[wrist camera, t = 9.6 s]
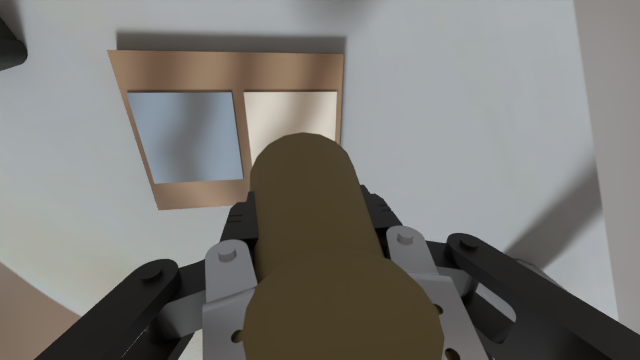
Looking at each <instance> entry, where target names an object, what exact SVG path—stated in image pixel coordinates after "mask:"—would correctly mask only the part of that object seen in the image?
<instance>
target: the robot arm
mask: <svg viewBox="0 0 640 360" xmlns="http://www.w3.org/2000/svg"><path fill="white" fill-rule="evenodd" d="M360 188H361V191H362V194H363V197H364V200H365V203H366V206H367V209H368V212H369V215H370V218H371V221H372V224H373V227H374V229H375V231H376V233H377V235H378V238H379V241H380V244H381V247H382V249H383V252H384V255H385V258H387V259H390V260H392V261H393V262H394V263H396V264H397V265H398V266H399V267H401V268H402V269H403V270H404V271H405V272H406V273H407V274H408V275H409V276H410V277H411V278H413V279H414V280H415V281H416V282H417V283H418V284H419V285H420V286H421V287H422V288H423V290H424V291H425V293H426V294H427V296H428V297H429V299H430V300H431V302H432V303H433V304H434V305H435V306H436V307H437V308H438V309H439V311H440V312H441V315H439V319H440V323H441V326H442V330H443V334H444V337H445V340H444V346H443V353H442V360H448V359H447V358H446V356H445V351H447V352H448V353H449V354H450V356H451V357H452V360H489V359H488V357H487V355H486V352H485V350H486V351H487V352H488V353H489V354H490V355H491V356H492V357H493V358H495V359H496V360H640V335H639V334H637V333H636V332H634V331H632V330H630V329H629V328H627V327H626V326H624V325H622V324H621V323H619V322H617V321H616V320H614V319H612V318H611V317H609V316H607V315H606V314H604V313H602V312H601V311H599V310H597V309H596V308H594V307H592V306H591V305H589V304H587V303H586V302H584V301H582V300H581V299H579V298H577V297H576V296H574V295H572V294H571V293H569V292H568V291H567V290H565V289H564V288H563V287H562V286H560V285H559V284H558V283H556V282H555V281H554V280H553V279H551V278H550V277H549V276H548V275H546V274H545V273H544V272H543V271H541V270H540V269H539V268H538V267H536V266H535V265H528V264H527V263H526V262H524V261H521V260H514V259H512V258H510V257H509V256H507V255H505V254H504V253H502V252H500V251H499V250H497V249H495V248H494V247H492V246H490V245H489V244H487V243H485V242H484V241H482V240H480V239H479V238H477V237H474V236H472V235H468V234H464V233H454V234H451V235H449V236H448V238H447V242H446V243H439V242H432V241H426V240H425V239H424V237H423V235H422V234H421V233H420V232H418V231H417V230H415V229H413V228H410V227H407V226H403V225H402V223H401V222H400V221H399V219H398V218H397V217H396V215H395V214H394V213H393V211H391V209H390V207H389V206H387V203H386V202H385V201H384V199H383V198H381V197H379V196H378V195H376V194H370V192H369V191H368V190H367V188H366V187H365V185H360ZM258 239H259V231H258V222H257V214H256V205H255V196H254V191H249V192H248V196H247V200H246V202H237V203H236V204H235V205H234V206H233V207H232V208H231V209H230V212H229V215H228V218H227V221H226V224H225V227H224V230H223V233H222V236H221V239H220V242H219V243H217V244H215V245H214V246H212V247H211V248H210V249H209V250H208V252H207V253H206V256H205V259H204V260H202V261H199V262H197V263H194V264H191V265H187V266H184V267H181V268H178V265H177V263H176V262H175V261H173V260H170V259H159V260H155V261H151V262H148V263H146V264H144V265H142V266H140V267H139V268H137V269H136V270H134V271H133V272H132V273H131V274H130V275H129V276H128V277H126V278H125V279H124V280H123V281H122V282H121V283H120V284H119V285H117V286H116V287H115V288H114V289H113V290H112V291H111V292H109V293H108V294H107V295H106V296H105V297H104V298H103V299H102V300H100V301H99V302H98V303H97V304H96V305H95V306H94V307H93V308H91V309H90V310H89V311H88V312H87V313H86V314H85V315H84V316H82V317H81V318H80V319H79V320H78V321H77V322H76V323H75V324H74V325H72V326H71V327H70V328H69V329H68V330H67V331H66V332H65V333H63V334H62V335H61V336H60V337H59V338H58V339H57V340H55V341H54V342H53V343H52V344H51V345H50V346H49V347H48V348H47V349H46V350H44V351H43V352H42V353H41V354H40V355H39V356H37V357H36V358H35V359H34V360H178V359H179V357H180V355H181V354H182V352H183V351H184V349H185V348H186V346H187V344H188V343H189V341H190V340H191V338H192V337H193V335H194V333H195V331H197V330H200V329H202V333H203V360H246V356H245V351H244V346H243V342H242V341H241V342H239V343H233V341H234V339H235V337H236V335H237V334H238V333H239V332H240V331H242V330H243V324H244V318H245V312H246V307H247V305H248V304H249V302H250V300H251V298H252V296H253V294H254V291H255V288H254V287H256V286H257V285H258V284H257V280H256V276H255V272H254V247H255V245H256V243H257V241H258ZM143 331H144V332H143ZM142 332H143V333H142ZM141 333H142V334H141ZM140 334H141V335H140ZM138 337H139V338H138ZM137 338H138V339H137ZM136 339H137V340H136ZM135 340H136V341H135ZM133 343H134V344H133ZM132 344H133V345H132ZM131 345H132V346H131ZM130 346H131V347H130ZM128 349H129V350H128ZM484 349H485V350H484ZM127 350H128V351H127ZM126 351H127V352H126ZM125 352H126V353H125ZM124 353H125V354H124ZM123 355H124V356H123ZM122 356H123V357H122Z"/></svg>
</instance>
